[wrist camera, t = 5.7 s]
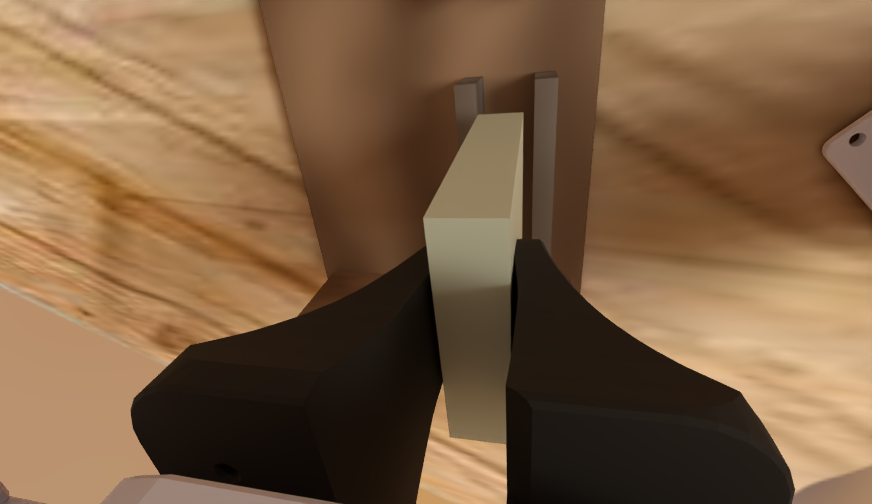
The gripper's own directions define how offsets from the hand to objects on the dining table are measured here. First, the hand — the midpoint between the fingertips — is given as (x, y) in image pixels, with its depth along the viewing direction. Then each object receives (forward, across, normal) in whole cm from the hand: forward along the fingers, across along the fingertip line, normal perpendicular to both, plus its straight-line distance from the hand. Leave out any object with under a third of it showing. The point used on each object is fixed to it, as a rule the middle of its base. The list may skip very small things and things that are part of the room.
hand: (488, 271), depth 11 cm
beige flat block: (+5, 0, 0) cm, 5 cm away
